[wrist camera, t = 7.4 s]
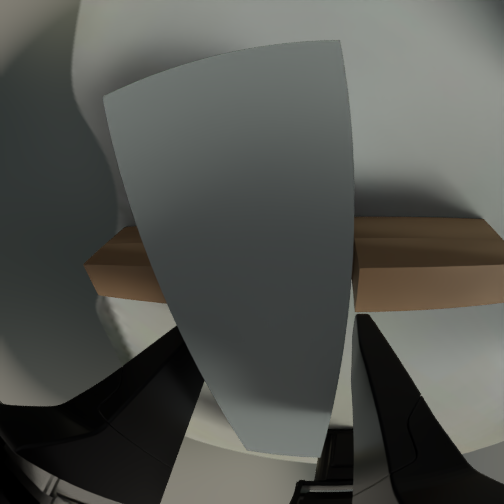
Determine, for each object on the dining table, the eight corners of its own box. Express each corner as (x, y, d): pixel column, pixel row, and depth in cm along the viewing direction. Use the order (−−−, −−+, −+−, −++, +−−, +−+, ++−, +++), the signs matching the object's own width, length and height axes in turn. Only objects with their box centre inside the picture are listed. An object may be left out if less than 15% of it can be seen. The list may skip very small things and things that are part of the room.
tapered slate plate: (330, 335, 16) (320, 457, 9) (276, 333, 17) (246, 450, 10) (323, 81, 9) (339, 40, 2) (238, 90, 10) (102, 96, 3)
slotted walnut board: (475, 252, 11) (507, 301, 7) (135, 255, 16) (98, 295, 13) (483, 219, 10) (522, 263, 6) (125, 227, 15) (83, 264, 12)
